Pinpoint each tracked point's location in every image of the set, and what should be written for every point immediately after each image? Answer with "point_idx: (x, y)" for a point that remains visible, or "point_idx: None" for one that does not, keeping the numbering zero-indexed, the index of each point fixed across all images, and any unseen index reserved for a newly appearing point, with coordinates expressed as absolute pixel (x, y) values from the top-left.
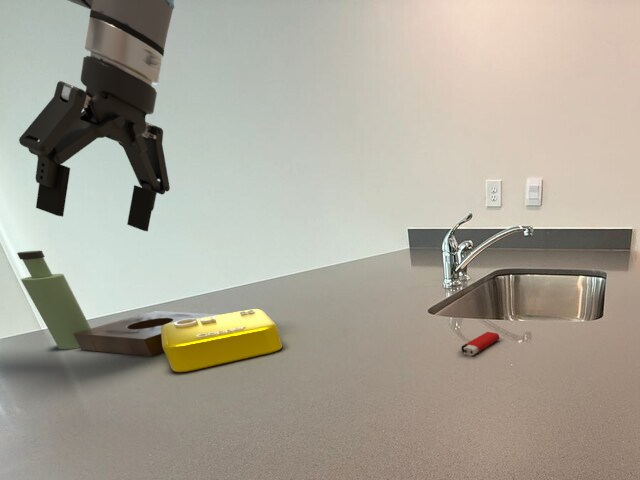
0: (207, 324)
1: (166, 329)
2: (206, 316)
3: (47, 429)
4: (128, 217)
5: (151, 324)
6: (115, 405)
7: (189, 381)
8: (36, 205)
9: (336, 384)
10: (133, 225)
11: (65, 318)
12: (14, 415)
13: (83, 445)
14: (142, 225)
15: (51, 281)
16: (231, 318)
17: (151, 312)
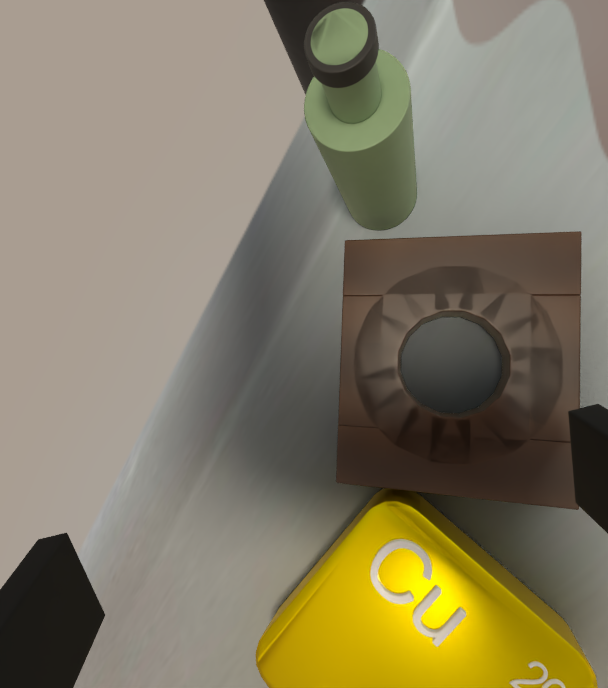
0: (405, 639)
1: (350, 552)
2: (548, 481)
3: (98, 585)
4: (601, 434)
5: (483, 321)
6: (161, 618)
7: (250, 677)
8: (31, 550)
9: None
10: (576, 450)
11: (354, 201)
12: (119, 484)
13: (77, 683)
14: (592, 511)
15: (345, 158)
16: (471, 672)
17: (558, 240)
